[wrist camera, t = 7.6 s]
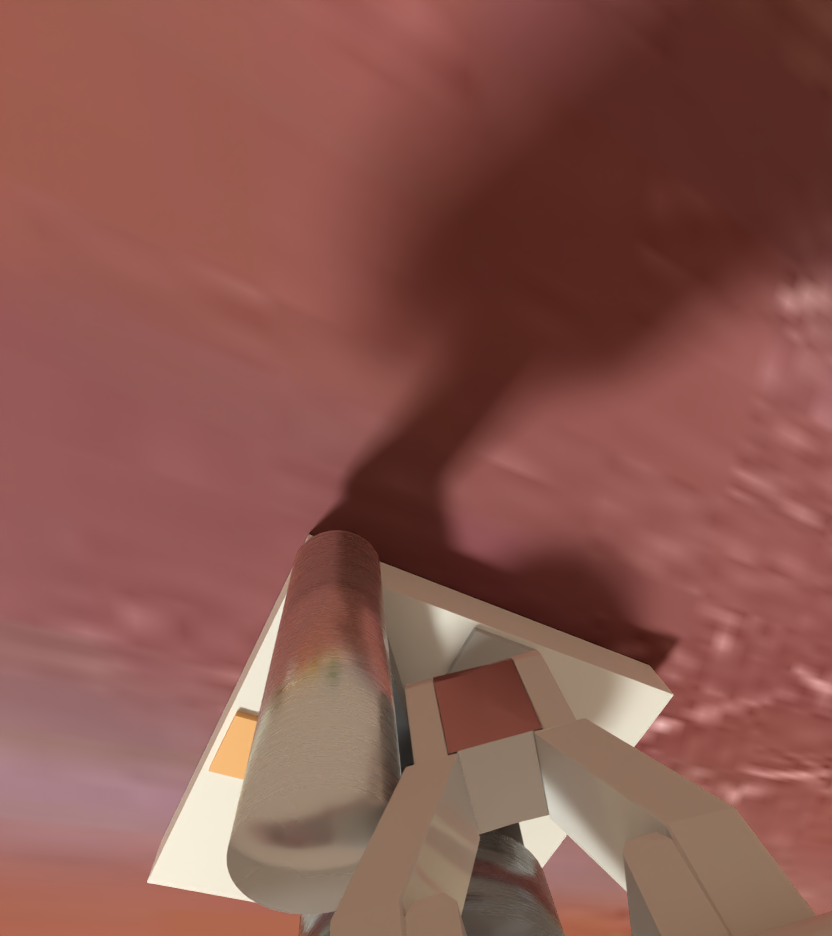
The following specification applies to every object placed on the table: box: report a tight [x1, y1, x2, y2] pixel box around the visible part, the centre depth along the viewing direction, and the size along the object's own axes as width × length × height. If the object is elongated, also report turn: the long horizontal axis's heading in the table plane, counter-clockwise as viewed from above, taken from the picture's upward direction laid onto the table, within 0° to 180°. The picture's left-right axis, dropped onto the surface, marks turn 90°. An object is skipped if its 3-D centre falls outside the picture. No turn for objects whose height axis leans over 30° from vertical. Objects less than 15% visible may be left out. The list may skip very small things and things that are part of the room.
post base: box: [147, 534, 674, 902], centre depth 16 cm, size 14×14×5 cm
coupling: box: [226, 530, 565, 936], centre depth 12 cm, size 7×14×8 cm, turn 13°
